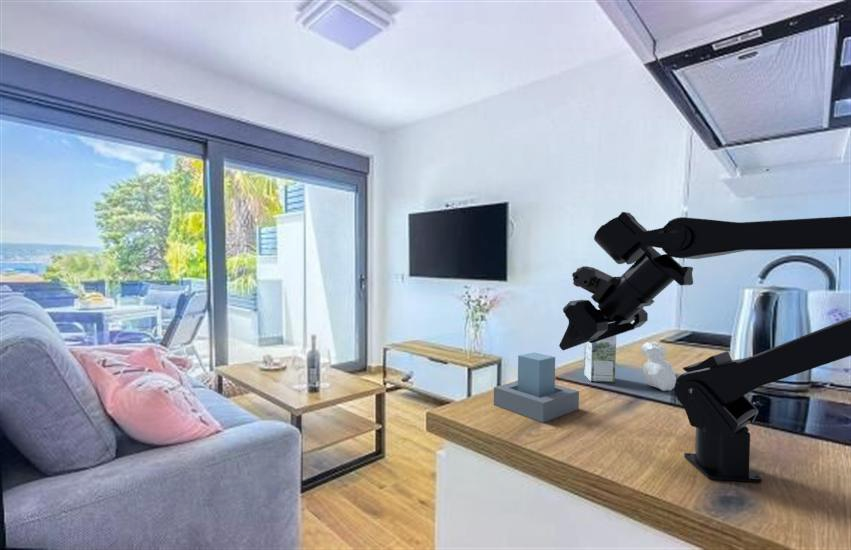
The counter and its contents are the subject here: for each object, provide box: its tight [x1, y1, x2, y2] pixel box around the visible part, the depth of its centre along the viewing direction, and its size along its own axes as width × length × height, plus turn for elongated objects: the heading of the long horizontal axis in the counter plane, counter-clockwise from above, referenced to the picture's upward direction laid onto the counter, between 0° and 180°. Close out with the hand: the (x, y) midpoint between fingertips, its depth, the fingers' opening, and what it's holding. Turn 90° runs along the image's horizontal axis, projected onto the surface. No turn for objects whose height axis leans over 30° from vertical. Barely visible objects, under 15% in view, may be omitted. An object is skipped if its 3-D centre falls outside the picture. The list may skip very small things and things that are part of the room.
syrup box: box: [583, 335, 617, 383], centre depth 99 cm, size 6×6×14 cm
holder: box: [493, 380, 580, 424], centre depth 79 cm, size 12×12×4 cm
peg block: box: [517, 352, 556, 398], centre depth 79 cm, size 5×5×10 cm
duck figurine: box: [640, 341, 677, 392], centre depth 94 cm, size 12×8×11 cm
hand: (575, 344), depth 72 cm, fingers open, 9 cm apart
